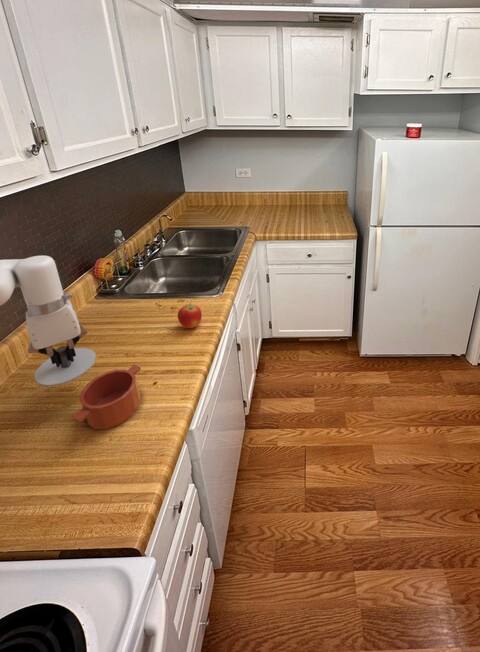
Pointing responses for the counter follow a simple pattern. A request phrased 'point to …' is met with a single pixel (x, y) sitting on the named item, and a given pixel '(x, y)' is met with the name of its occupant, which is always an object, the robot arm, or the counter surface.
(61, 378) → the pan lid
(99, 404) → the saucepan
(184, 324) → the apple
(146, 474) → the counter surface
